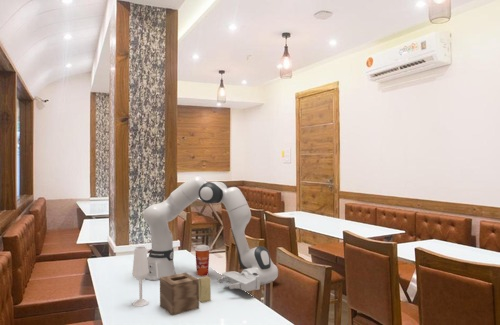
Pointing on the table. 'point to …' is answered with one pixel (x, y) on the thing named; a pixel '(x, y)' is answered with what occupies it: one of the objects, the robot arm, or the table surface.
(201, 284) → the olive yellow block
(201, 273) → the coffee cup
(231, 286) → the robot arm
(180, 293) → the walnut tip box
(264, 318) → the table surface
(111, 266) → the table surface
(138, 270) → the champagne flute
